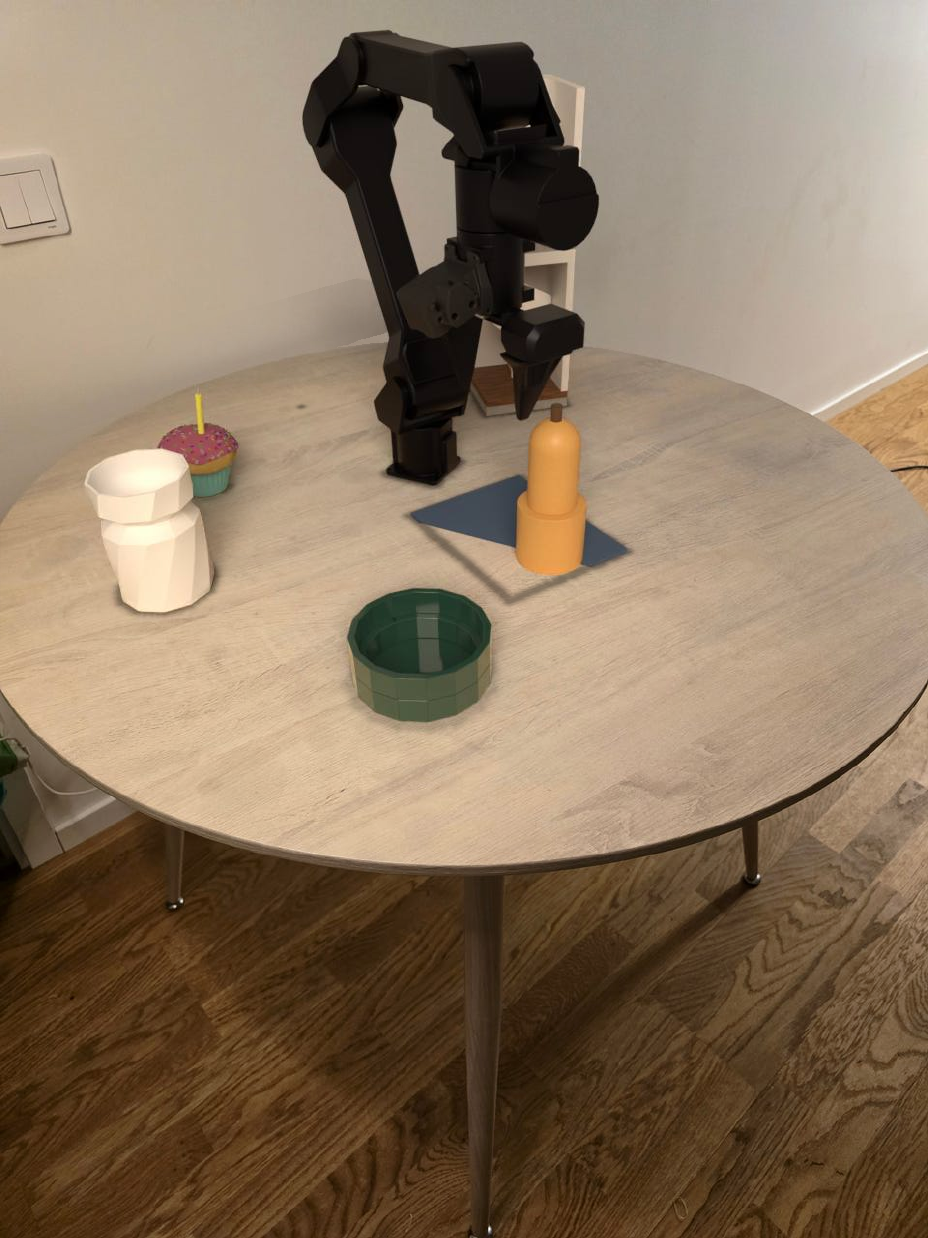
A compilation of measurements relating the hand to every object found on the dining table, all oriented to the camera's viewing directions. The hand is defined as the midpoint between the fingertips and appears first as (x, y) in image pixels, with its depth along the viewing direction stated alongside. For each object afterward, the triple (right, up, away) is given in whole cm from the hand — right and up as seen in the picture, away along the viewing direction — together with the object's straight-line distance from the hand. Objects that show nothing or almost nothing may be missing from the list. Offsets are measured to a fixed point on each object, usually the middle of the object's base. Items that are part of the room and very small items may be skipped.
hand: (492, 402), depth 81 cm
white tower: (+4, +9, +33) cm, 35 cm away
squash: (+6, -14, +2) cm, 15 cm away
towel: (+3, -12, +6) cm, 14 cm away
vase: (-31, -17, +1) cm, 35 cm away
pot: (-6, -25, -10) cm, 28 cm away
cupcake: (-31, -6, +15) cm, 35 cm away
